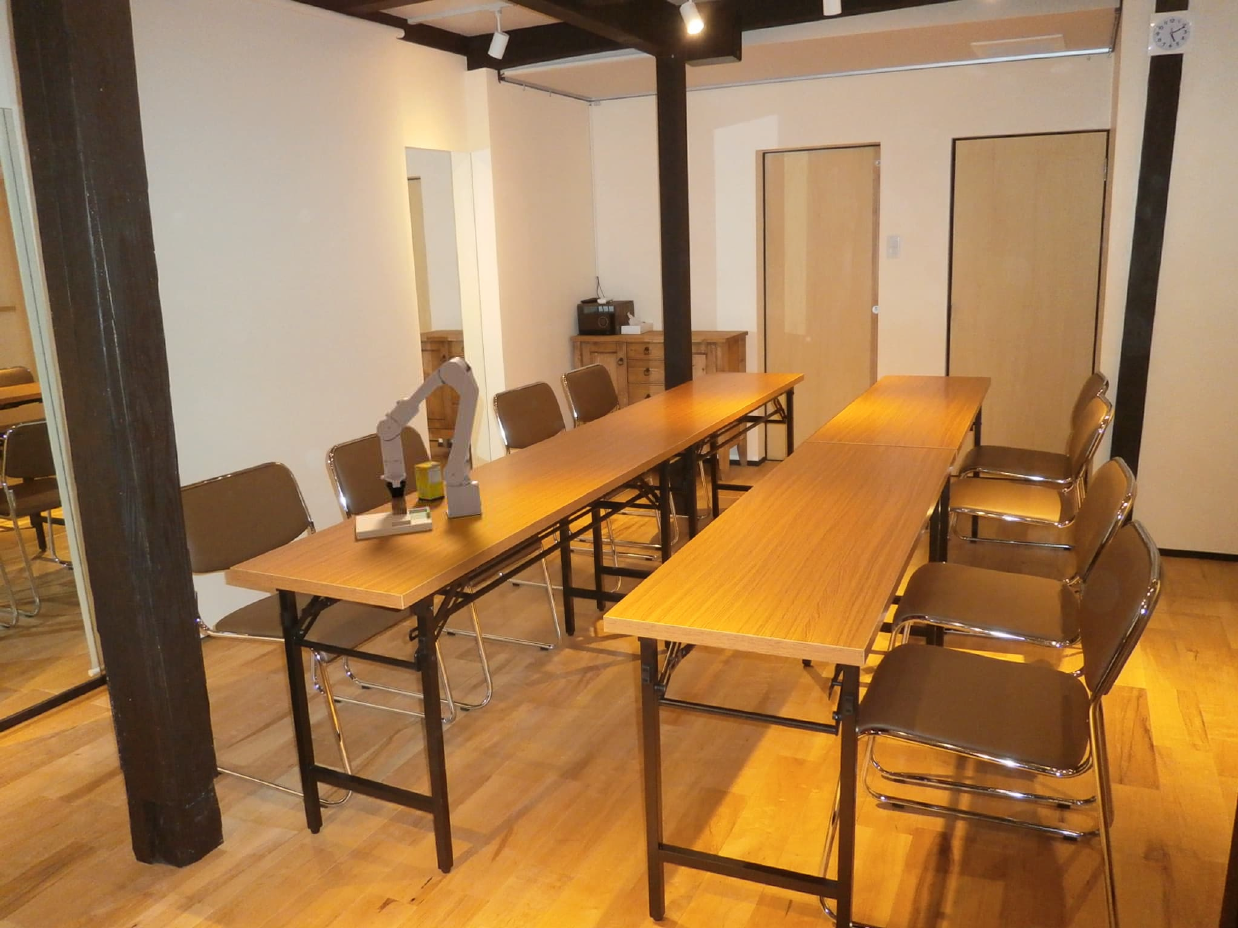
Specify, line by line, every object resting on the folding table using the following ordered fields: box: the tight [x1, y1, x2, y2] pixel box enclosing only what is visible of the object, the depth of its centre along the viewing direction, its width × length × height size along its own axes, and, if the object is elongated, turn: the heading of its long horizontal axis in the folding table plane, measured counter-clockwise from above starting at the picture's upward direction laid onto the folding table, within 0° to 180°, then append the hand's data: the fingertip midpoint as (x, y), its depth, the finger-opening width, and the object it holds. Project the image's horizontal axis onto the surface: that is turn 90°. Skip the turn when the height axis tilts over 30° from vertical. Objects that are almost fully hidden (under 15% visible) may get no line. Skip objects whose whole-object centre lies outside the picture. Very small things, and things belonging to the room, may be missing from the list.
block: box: [390, 496, 408, 515], centre depth 274 cm, size 4×4×4 cm
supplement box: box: [413, 461, 446, 503], centre depth 295 cm, size 6×6×11 cm
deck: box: [355, 506, 434, 540], centre depth 269 cm, size 20×16×4 cm
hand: (398, 505), depth 278 cm, fingers closed
